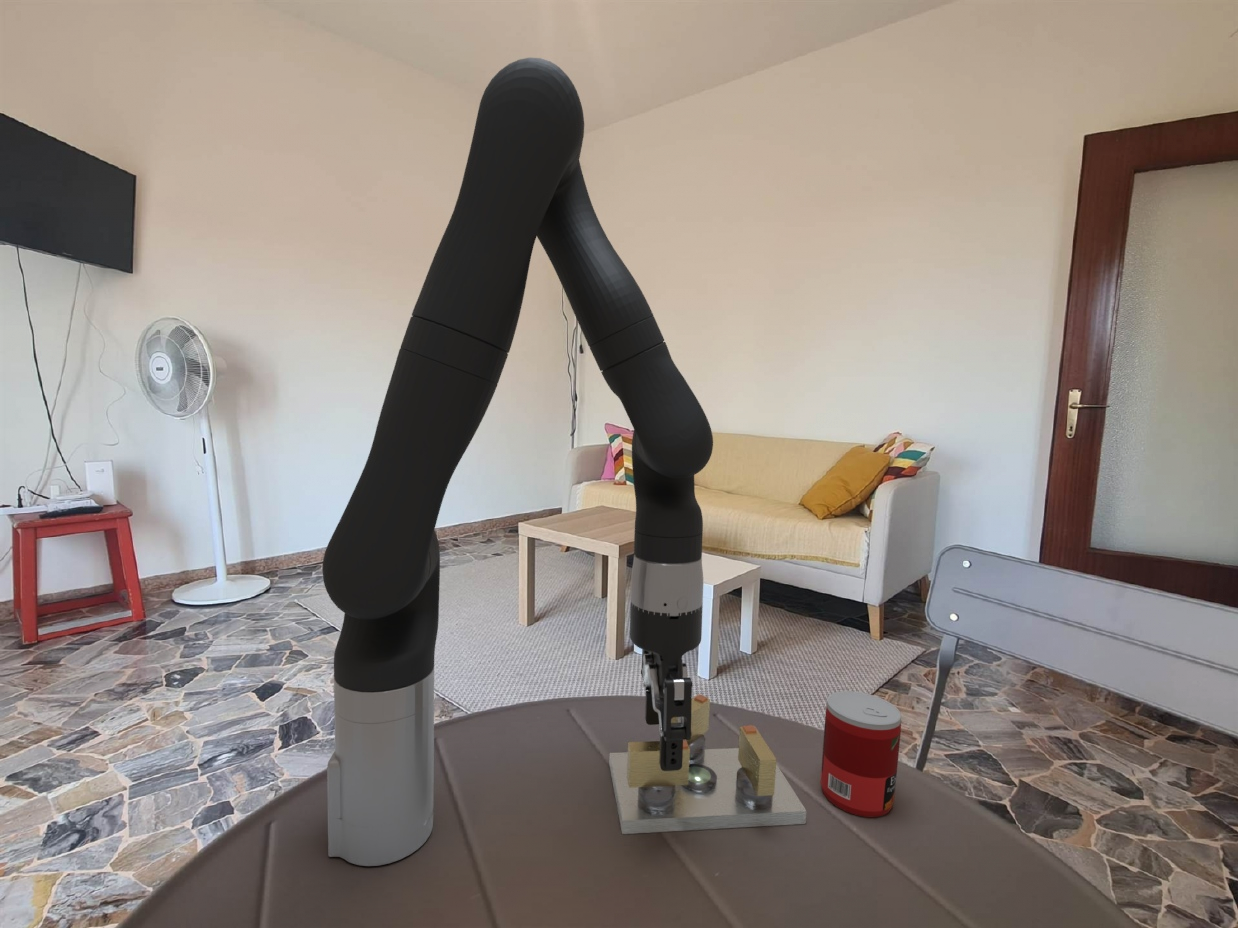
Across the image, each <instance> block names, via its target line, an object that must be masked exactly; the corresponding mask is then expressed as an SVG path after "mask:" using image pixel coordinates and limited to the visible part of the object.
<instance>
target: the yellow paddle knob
mask: <svg viewBox="0 0 1238 928" xmlns="http://www.w3.org/2000/svg"><path fill="white" fill-rule="evenodd" d="M710 705H711V699H710V698H708V697H707V696H705V695H702V694H697V695H695V696H694V697H692V706H691V732H692V735H691V739H690V740H686V741H687V744H688V746H689V748H690V760H689V764H702V763H703V762H704V757H705V749H706V737H705V735H704V734H705V733H706V732H708V731H709V725H710V710H711V709H710V708H711V706H710ZM671 723H678V717H673V718H672V719H671Z"/></svg>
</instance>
